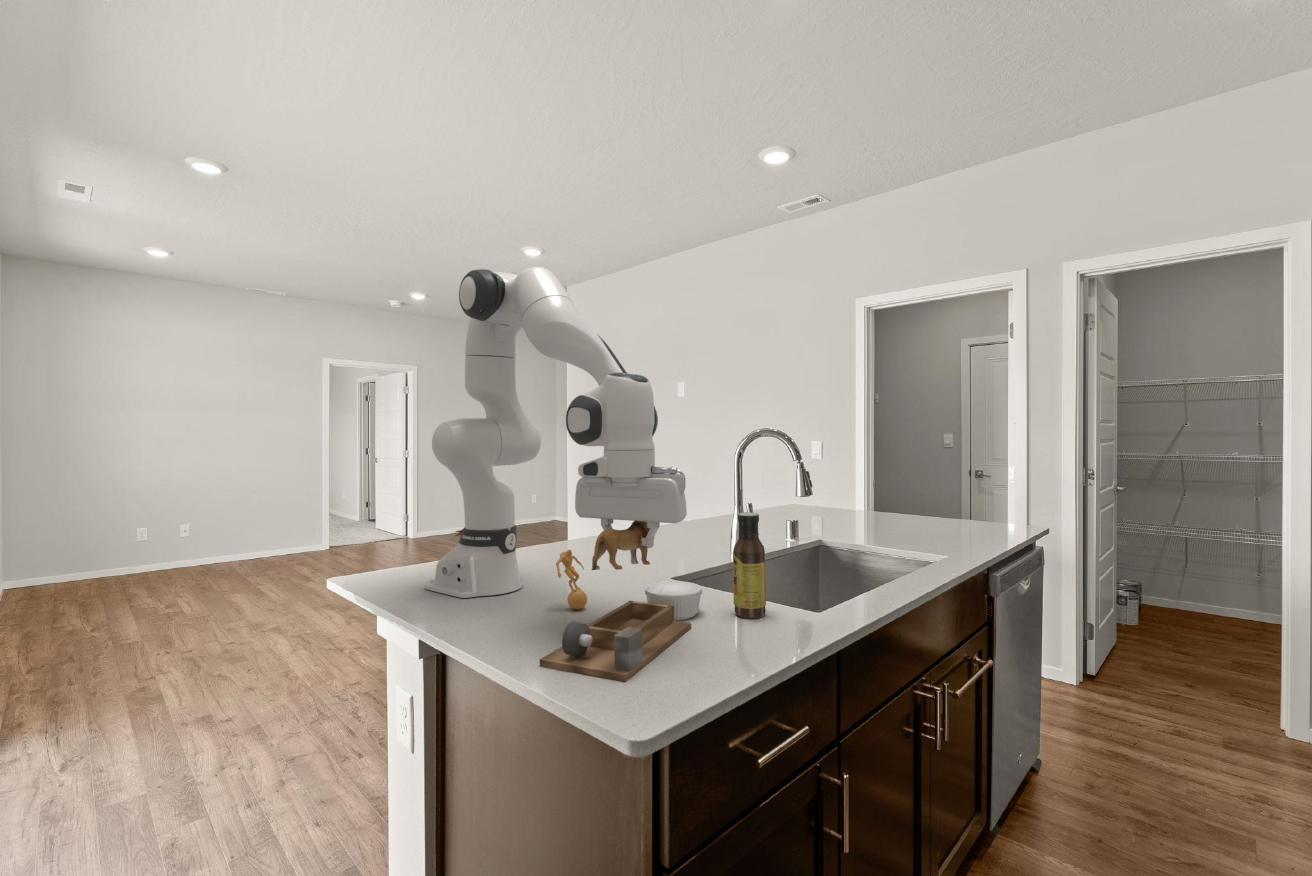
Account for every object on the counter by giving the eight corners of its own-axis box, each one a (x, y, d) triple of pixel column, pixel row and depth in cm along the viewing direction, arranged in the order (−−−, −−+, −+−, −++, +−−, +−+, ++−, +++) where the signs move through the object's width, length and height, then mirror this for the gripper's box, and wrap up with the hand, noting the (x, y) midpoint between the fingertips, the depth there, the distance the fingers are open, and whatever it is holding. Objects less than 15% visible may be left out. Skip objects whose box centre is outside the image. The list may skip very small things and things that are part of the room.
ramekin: (637, 609, 126) (637, 583, 126) (687, 603, 130) (687, 578, 130) (657, 625, 116) (657, 597, 116) (711, 618, 120) (711, 591, 120)
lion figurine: (644, 559, 114) (641, 510, 114) (665, 561, 110) (662, 510, 111) (582, 572, 103) (579, 518, 104) (603, 574, 100) (600, 518, 100)
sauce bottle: (739, 608, 126) (738, 510, 125) (769, 612, 123) (769, 511, 123) (729, 617, 120) (728, 514, 120) (760, 621, 117) (760, 516, 117)
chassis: (539, 665, 96) (539, 627, 96) (618, 618, 120) (618, 587, 120) (625, 681, 90) (625, 640, 90) (691, 628, 114) (691, 595, 114)
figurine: (573, 616, 122) (572, 554, 121) (548, 611, 124) (548, 552, 124) (597, 605, 129) (596, 547, 129) (573, 601, 132) (572, 544, 132)
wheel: (562, 659, 96) (561, 627, 96) (579, 648, 100) (579, 617, 100) (581, 662, 94) (580, 629, 94) (597, 651, 99) (597, 620, 99)
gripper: (692, 466, 106) (692, 547, 107) (588, 464, 115) (589, 538, 115) (677, 468, 101) (678, 554, 101) (570, 466, 109) (570, 544, 109)
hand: (630, 545), depth 108 cm, fingers closed on lion figurine, 5 cm apart
